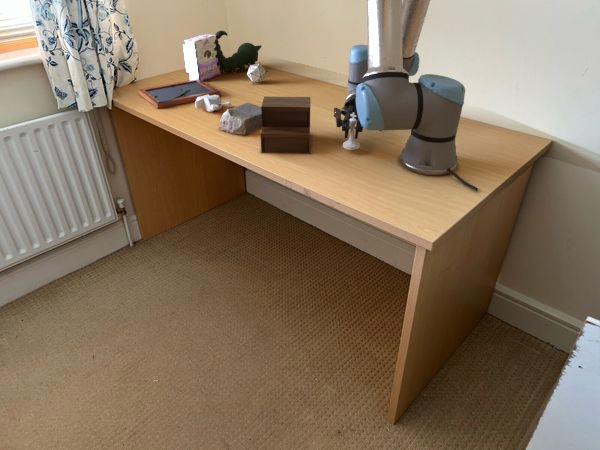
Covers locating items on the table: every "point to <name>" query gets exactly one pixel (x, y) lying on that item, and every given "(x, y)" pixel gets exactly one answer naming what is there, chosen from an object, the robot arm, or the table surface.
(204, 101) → the bunny figurine
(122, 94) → the table surface
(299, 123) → the step shelf
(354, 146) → the chess piece
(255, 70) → the game die
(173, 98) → the picture frame
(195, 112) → the table surface
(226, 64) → the toy figurine
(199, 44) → the candy box
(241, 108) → the geological specimen
